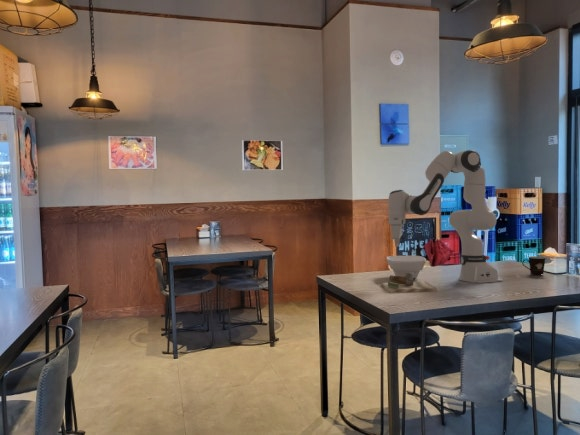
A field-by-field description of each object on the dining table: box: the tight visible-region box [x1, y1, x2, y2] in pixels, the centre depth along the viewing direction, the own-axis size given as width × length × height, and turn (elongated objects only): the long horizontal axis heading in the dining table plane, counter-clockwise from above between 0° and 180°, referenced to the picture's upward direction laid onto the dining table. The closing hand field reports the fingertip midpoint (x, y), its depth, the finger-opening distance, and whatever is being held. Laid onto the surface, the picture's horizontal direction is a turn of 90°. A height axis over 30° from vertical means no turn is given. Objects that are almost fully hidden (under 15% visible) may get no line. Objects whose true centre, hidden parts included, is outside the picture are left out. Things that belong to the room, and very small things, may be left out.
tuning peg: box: [389, 272, 414, 285], centre depth 245 cm, size 12×4×6 cm, turn 72°
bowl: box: [386, 255, 427, 279], centre depth 272 cm, size 22×22×12 cm
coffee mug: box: [522, 256, 546, 276], centre depth 273 cm, size 12×9×10 cm
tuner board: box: [380, 281, 438, 294], centre depth 243 cm, size 24×18×4 cm
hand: (397, 246), depth 250 cm, fingers open, 3 cm apart
